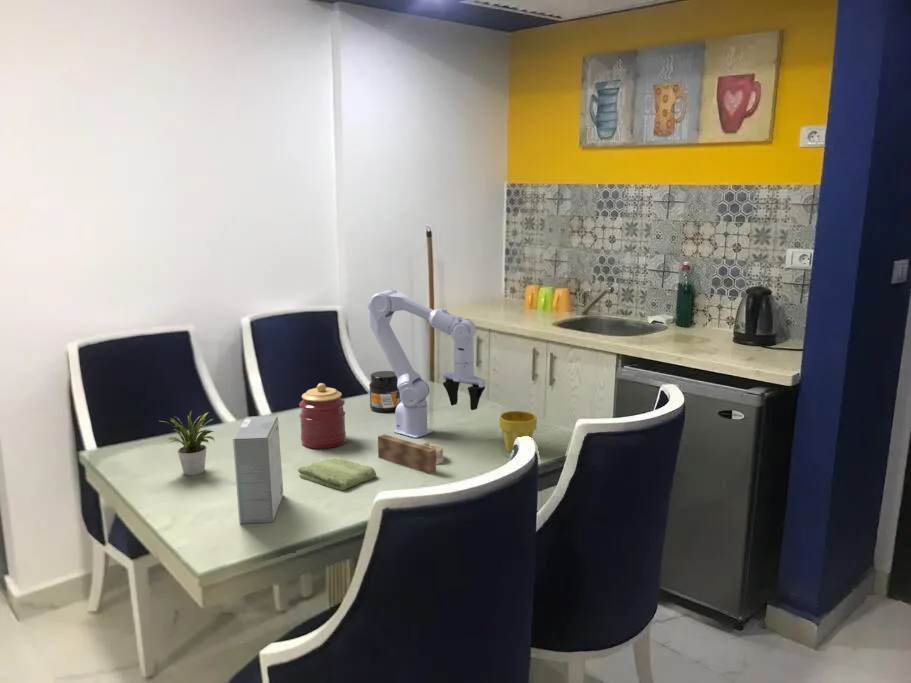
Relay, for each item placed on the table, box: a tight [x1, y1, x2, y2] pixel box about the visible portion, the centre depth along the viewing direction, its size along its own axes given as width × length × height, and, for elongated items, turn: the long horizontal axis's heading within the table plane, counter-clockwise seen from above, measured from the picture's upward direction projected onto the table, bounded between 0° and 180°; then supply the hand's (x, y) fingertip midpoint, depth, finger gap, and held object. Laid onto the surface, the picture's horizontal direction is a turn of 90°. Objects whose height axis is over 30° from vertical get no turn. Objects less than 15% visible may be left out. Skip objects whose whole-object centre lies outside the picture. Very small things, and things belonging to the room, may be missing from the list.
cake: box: [419, 441, 445, 466], centre depth 199 cm, size 10×10×5 cm
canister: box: [298, 382, 347, 450], centre depth 212 cm, size 13×13×18 cm
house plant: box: [160, 410, 216, 476], centre depth 188 cm, size 14×14×16 cm
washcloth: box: [297, 457, 377, 491], centre depth 187 cm, size 13×18×3 cm
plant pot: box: [498, 410, 538, 453], centre depth 206 cm, size 10×10×10 cm
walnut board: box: [377, 433, 437, 475], centre depth 195 cm, size 19×2×6 cm, turn 50°
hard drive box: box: [232, 415, 284, 525], centre depth 166 cm, size 16×8×20 cm, turn 5°
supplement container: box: [368, 370, 402, 413], centre depth 245 cm, size 10×10×12 cm
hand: (463, 406), depth 215 cm, fingers open, 7 cm apart
